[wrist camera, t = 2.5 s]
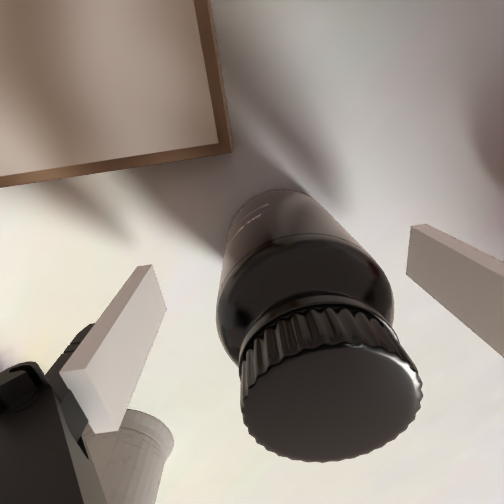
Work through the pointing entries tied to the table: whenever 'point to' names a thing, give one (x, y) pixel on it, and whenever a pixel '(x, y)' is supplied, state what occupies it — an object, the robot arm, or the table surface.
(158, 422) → the glass holder
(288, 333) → the supplement bottle
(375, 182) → the table surface
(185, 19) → the plinth
